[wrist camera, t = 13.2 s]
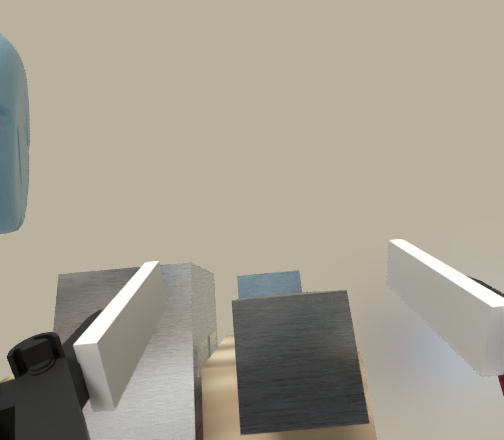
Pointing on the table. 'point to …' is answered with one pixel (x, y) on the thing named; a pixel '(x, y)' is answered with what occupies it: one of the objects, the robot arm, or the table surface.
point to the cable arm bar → (295, 357)
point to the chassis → (151, 352)
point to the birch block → (227, 407)
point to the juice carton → (501, 382)
